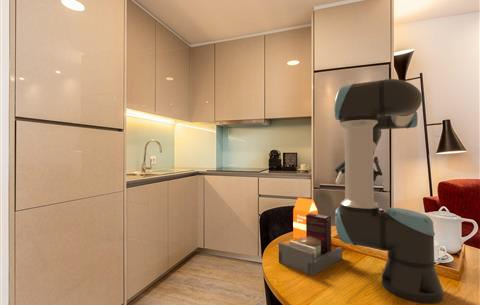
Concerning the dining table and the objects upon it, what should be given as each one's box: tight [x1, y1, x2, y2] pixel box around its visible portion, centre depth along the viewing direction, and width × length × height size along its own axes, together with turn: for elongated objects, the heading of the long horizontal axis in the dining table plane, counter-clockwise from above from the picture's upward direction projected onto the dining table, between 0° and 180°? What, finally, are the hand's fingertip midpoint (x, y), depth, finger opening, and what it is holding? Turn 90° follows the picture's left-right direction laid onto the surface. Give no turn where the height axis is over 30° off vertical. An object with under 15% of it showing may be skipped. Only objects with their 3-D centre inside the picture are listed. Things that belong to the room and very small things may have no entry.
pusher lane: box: [278, 242, 343, 277], centre depth 92 cm, size 14×21×8 cm, turn 131°
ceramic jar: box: [297, 237, 321, 258], centre depth 91 cm, size 8×8×8 cm
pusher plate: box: [289, 239, 316, 259], centre depth 88 cm, size 10×1×7 cm, turn 41°
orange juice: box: [292, 197, 319, 240], centre depth 118 cm, size 8×9×20 cm
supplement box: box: [306, 213, 332, 255], centre depth 96 cm, size 9×5×16 cm, turn 47°
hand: (351, 185), depth 107 cm, fingers open, 13 cm apart
